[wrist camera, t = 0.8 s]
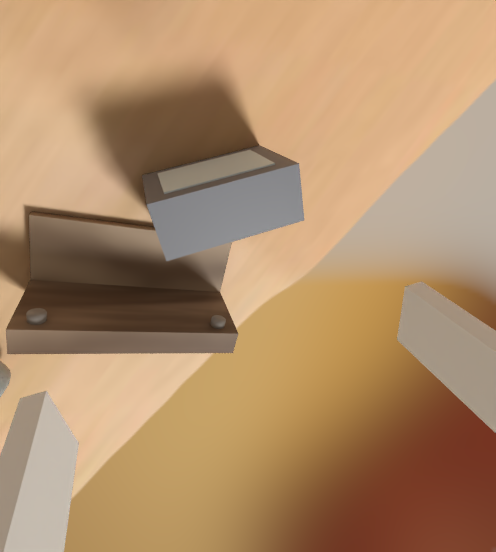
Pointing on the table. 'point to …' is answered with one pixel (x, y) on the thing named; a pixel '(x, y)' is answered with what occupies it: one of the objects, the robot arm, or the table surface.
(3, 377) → the ceramic mug
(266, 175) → the grey box
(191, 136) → the table surface
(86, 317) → the wall rail
